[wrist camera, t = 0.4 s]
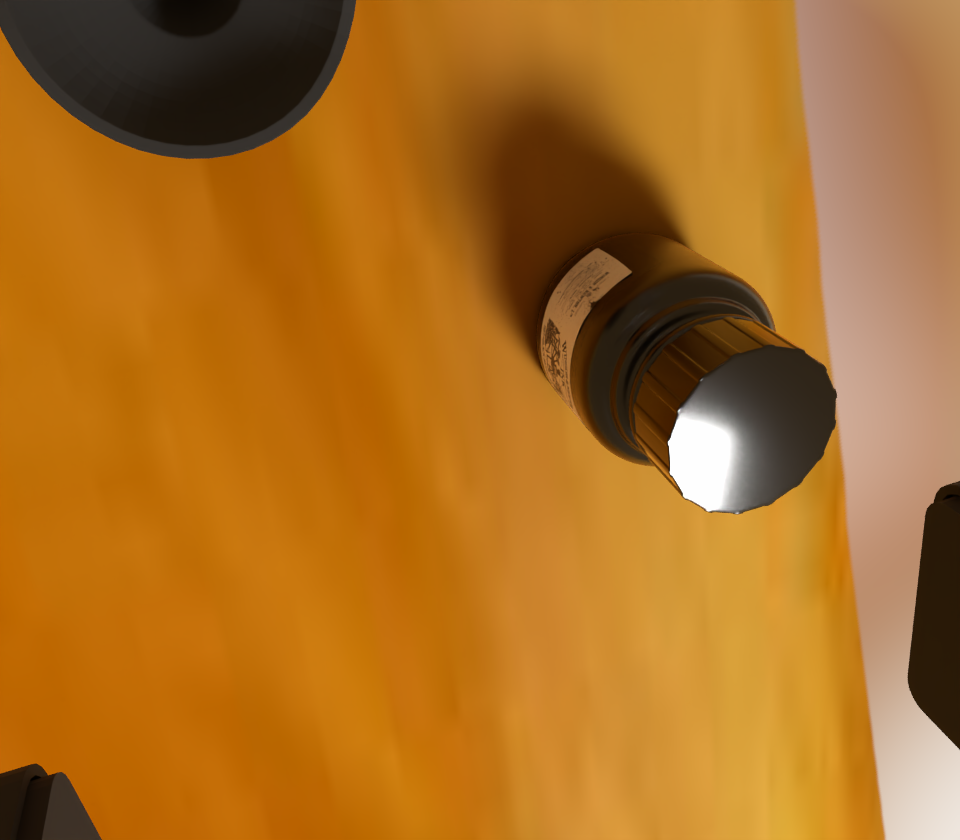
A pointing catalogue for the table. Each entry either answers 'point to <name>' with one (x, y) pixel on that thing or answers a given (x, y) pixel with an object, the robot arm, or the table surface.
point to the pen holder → (182, 66)
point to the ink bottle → (684, 372)
